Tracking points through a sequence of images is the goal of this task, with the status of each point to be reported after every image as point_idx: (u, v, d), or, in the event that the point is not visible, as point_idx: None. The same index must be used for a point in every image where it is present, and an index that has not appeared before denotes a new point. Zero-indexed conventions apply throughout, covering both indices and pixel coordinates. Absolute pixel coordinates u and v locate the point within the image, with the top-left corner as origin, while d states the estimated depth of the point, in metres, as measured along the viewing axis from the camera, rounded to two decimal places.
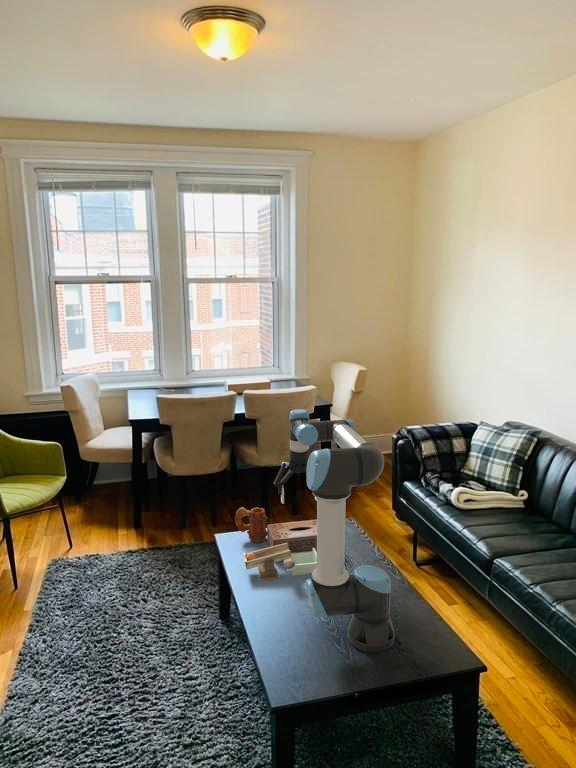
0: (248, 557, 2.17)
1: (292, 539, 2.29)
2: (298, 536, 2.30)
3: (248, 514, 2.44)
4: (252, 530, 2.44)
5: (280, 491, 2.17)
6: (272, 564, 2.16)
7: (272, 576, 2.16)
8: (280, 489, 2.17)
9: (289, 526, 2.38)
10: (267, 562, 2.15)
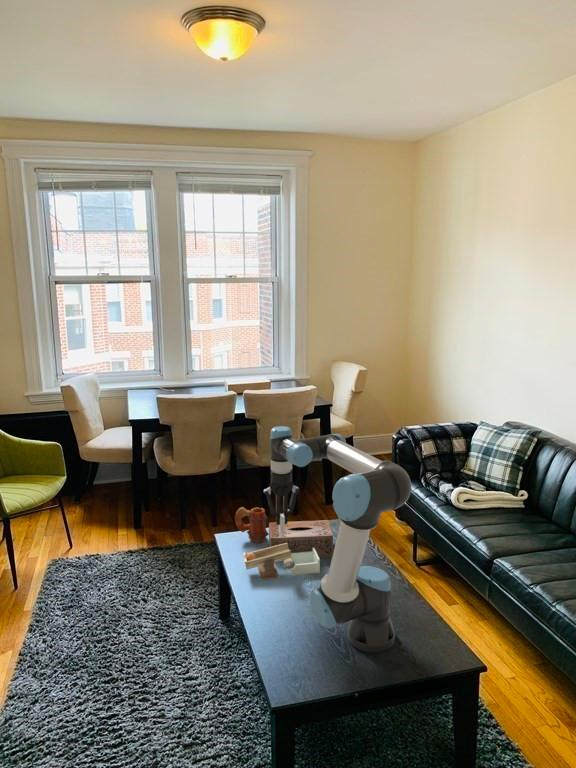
0: (248, 557, 2.17)
1: (290, 539, 2.29)
2: (296, 536, 2.30)
3: (248, 514, 2.44)
4: (252, 530, 2.44)
5: (278, 520, 2.00)
6: (272, 564, 2.16)
7: (272, 576, 2.16)
8: (278, 518, 2.00)
9: (290, 526, 2.39)
10: (267, 562, 2.15)
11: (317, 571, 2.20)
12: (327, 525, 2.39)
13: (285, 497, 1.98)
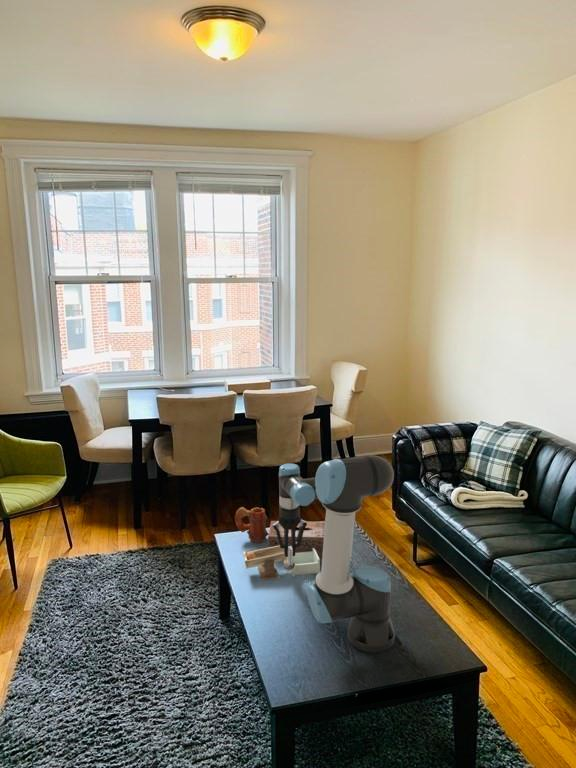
0: (249, 556, 2.17)
1: (288, 538, 2.30)
2: None
3: (248, 514, 2.44)
4: (252, 530, 2.44)
5: (286, 553, 2.09)
6: (272, 564, 2.16)
7: (272, 576, 2.16)
8: (286, 551, 2.09)
9: None
10: (267, 562, 2.15)
11: (317, 571, 2.20)
12: None
13: (293, 531, 2.07)
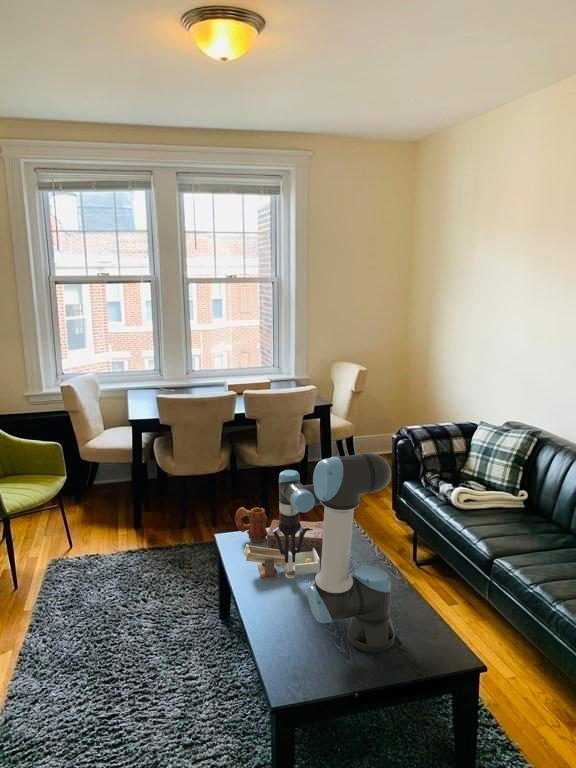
0: None
1: None
2: None
3: (248, 514, 2.44)
4: (252, 530, 2.44)
5: (286, 559, 2.10)
6: (272, 564, 2.16)
7: (272, 576, 2.16)
8: (286, 557, 2.10)
9: None
10: (267, 562, 2.15)
11: (317, 571, 2.20)
12: None
13: (293, 537, 2.08)
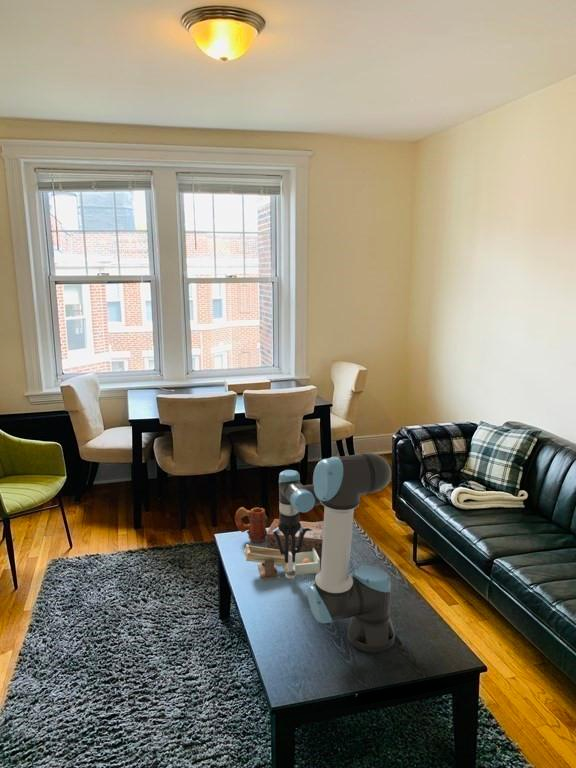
0: (308, 562, 2.22)
1: None
2: None
3: (248, 514, 2.44)
4: (252, 530, 2.44)
5: (286, 559, 2.10)
6: (272, 564, 2.16)
7: (272, 576, 2.16)
8: (286, 557, 2.10)
9: None
10: (267, 562, 2.15)
11: (317, 571, 2.20)
12: None
13: (293, 537, 2.08)
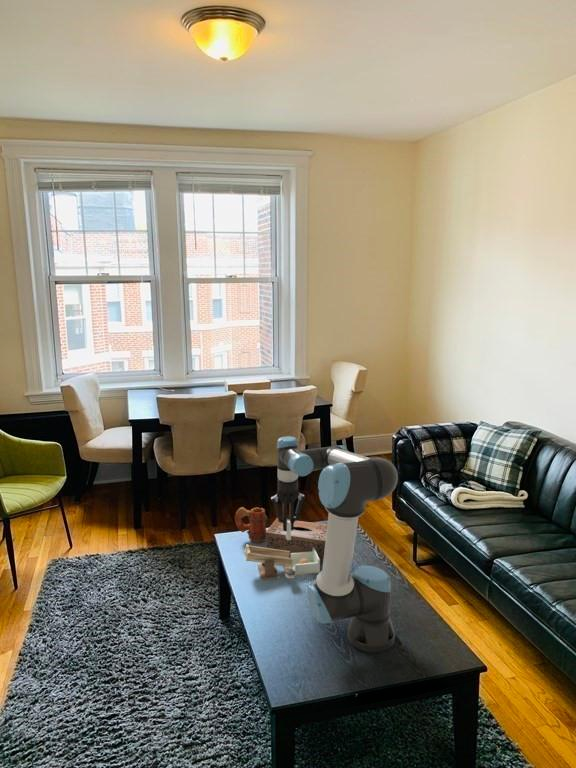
0: (304, 562, 2.22)
1: (284, 536, 2.31)
2: None
3: (248, 514, 2.44)
4: (252, 530, 2.44)
5: (285, 527, 2.08)
6: (272, 564, 2.16)
7: (272, 576, 2.16)
8: (285, 525, 2.08)
9: None
10: (267, 562, 2.15)
11: (317, 571, 2.20)
12: None
13: (291, 504, 2.06)
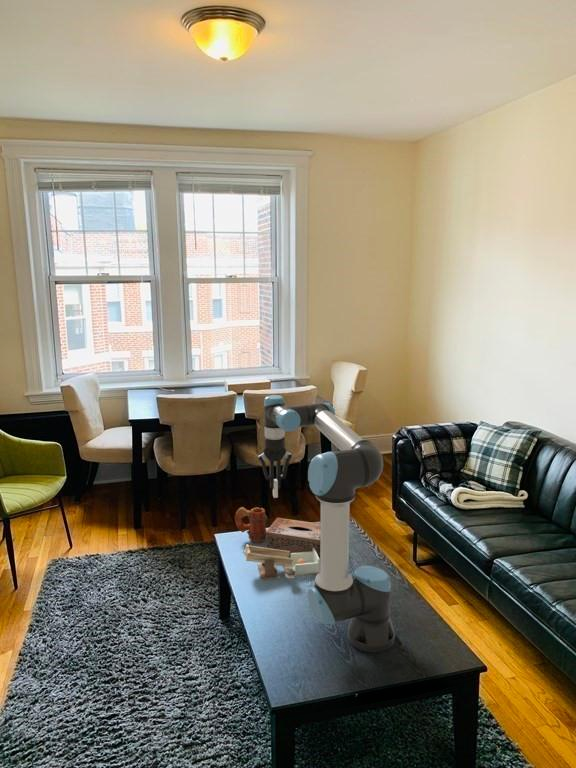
0: (300, 563, 2.21)
1: (284, 536, 2.32)
2: (290, 534, 2.31)
3: (248, 514, 2.44)
4: (252, 530, 2.44)
5: (272, 485, 2.11)
6: (272, 564, 2.16)
7: (272, 576, 2.16)
8: (272, 483, 2.11)
9: (293, 524, 2.40)
10: (267, 562, 2.15)
11: (317, 571, 2.20)
12: None
13: (278, 462, 2.09)
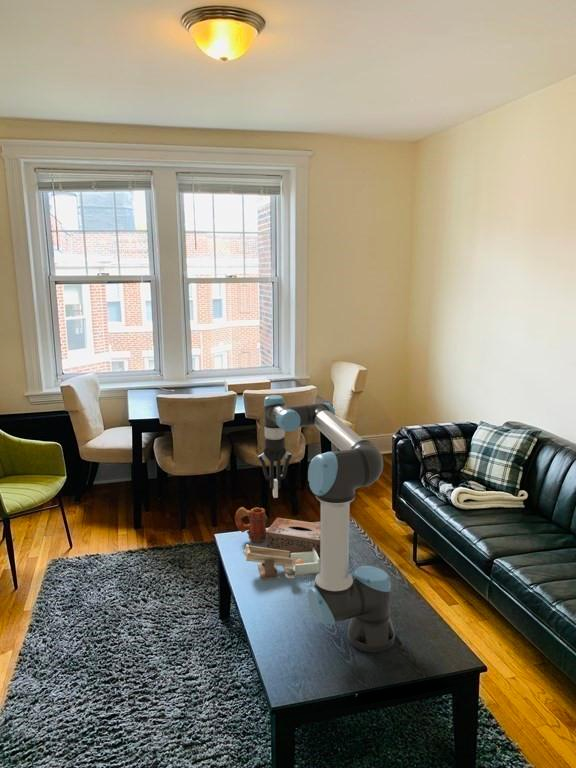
0: None
1: (284, 536, 2.32)
2: (290, 534, 2.32)
3: (248, 514, 2.44)
4: (252, 530, 2.44)
5: (272, 485, 2.11)
6: (272, 564, 2.16)
7: (272, 576, 2.16)
8: (272, 483, 2.11)
9: (293, 524, 2.40)
10: (267, 562, 2.15)
11: (317, 571, 2.20)
12: None
13: (278, 462, 2.09)
